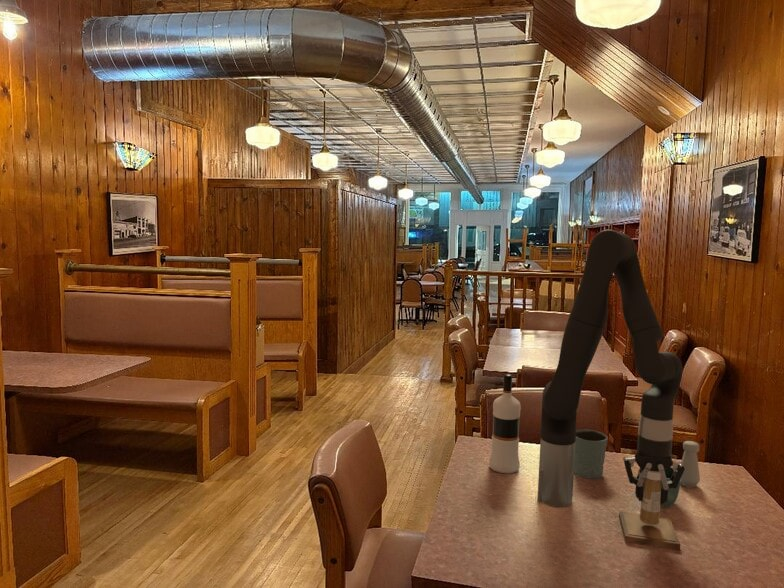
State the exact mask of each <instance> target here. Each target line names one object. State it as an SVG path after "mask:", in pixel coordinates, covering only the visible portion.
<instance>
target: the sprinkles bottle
mask: <svg viewBox="0 0 784 588" xmlns="http://www.w3.org/2000/svg"><path fill="white" fill-rule="evenodd" d="M661 485H662V482H661V474H660V473H659V472H657V471H649V472H648V474H647V477H646V479H645V480H644V483H643V485H642V486H643V497H642V501H640V517H639V518H640V520H641V521H642V522H644V523H646V524H650V525H656V524H659V517H660V512H661V506H660V503H661Z"/></svg>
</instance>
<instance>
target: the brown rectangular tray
mask: <svg viewBox="0 0 784 588" xmlns="http://www.w3.org/2000/svg"><path fill="white" fill-rule="evenodd" d="M639 517H640V514H639V513H633V512H625V511H619V512H618V519H619V522H620V527H621V531H622V536H623V539H624V542H625V543H631V544H637V545H638V544H639V545H644V546H651V547H655V548H656V547H657V548H663V549H671V550H676V551H680V550H681V543H680V540H679V537H678V535H677V532H676V531H675V528H674V525H673V523H672V521H671V519H670V518H669V517H667V518H666V517H660V516H659V524H656V525H650V524H646V523H644V522H642V521H641V520H640V518H639Z"/></svg>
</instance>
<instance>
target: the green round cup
mask: <svg viewBox="0 0 784 588" xmlns="http://www.w3.org/2000/svg"><path fill="white" fill-rule="evenodd" d="M608 439H609V438H608V436H607V435H606V434H604V433H603V432H601V431H597V430H593V429H592V430H591V429H576V445H575V462H574V475H577V476H578V477H581V478H585V479H592V480H593V479H594V480H595V479H599V478H601V477H603V473H604V464H605V459H606V450H607V445H608Z"/></svg>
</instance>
